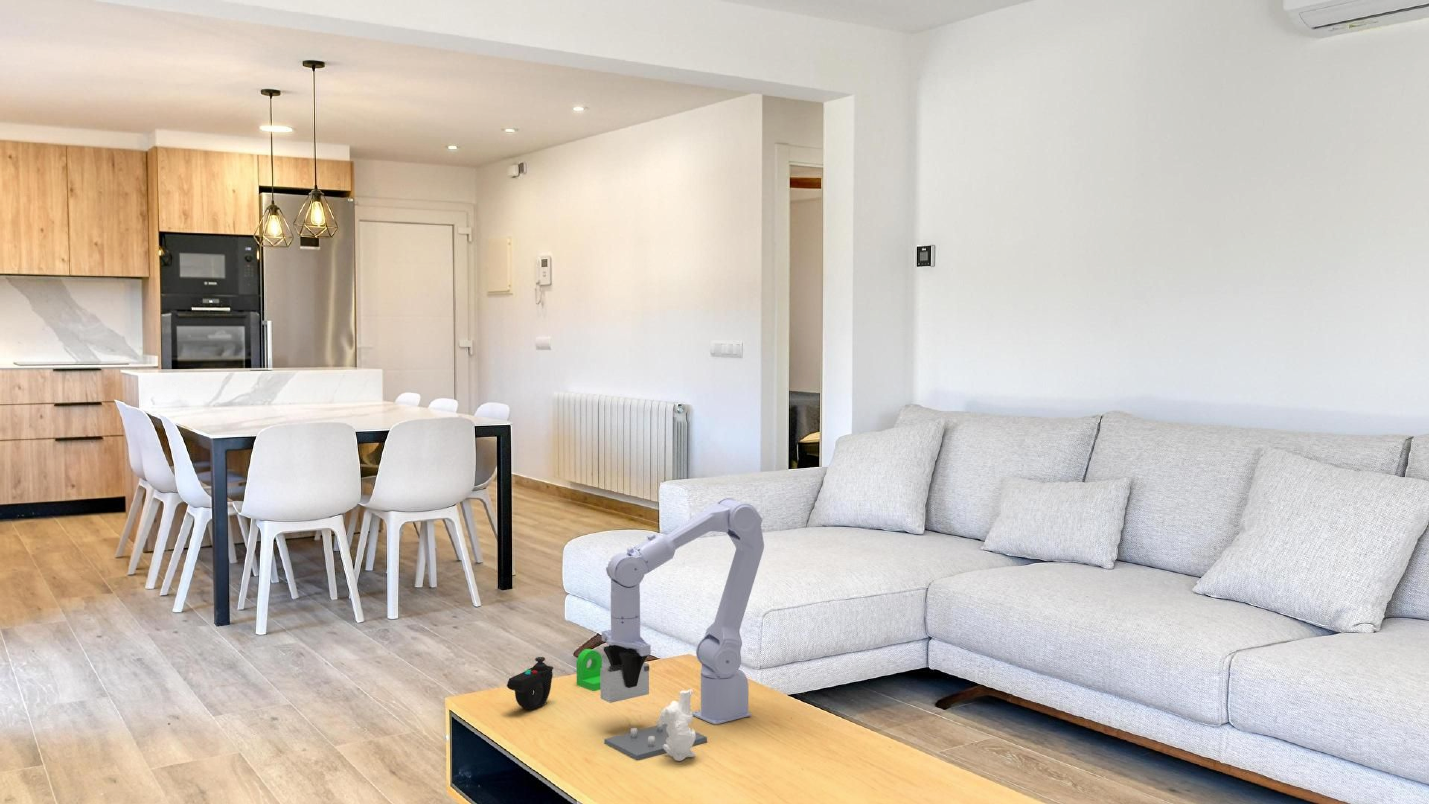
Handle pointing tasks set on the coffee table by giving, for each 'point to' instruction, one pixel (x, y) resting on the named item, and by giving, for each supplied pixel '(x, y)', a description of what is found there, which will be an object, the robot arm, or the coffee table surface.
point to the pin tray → (645, 741)
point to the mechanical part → (589, 669)
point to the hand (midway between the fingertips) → (625, 684)
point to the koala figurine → (679, 727)
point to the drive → (622, 683)
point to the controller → (532, 685)
